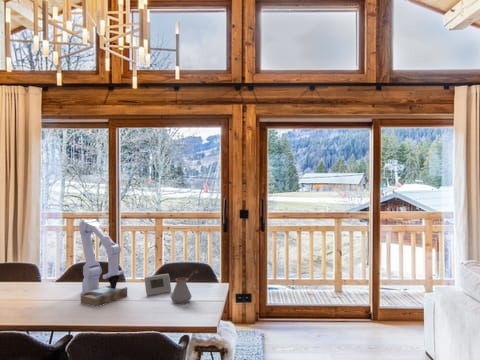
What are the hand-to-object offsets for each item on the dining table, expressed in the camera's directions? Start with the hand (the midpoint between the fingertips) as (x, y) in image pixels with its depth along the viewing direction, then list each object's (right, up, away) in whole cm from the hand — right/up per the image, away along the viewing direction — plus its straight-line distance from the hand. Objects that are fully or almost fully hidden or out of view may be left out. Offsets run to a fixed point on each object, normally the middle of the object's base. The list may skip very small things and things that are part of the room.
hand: (113, 288), depth 228 cm
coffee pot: (+43, -5, -6) cm, 44 cm away
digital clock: (+25, -5, +7) cm, 26 cm away
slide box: (-3, -5, -6) cm, 8 cm away
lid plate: (-3, -1, -6) cm, 7 cm away
